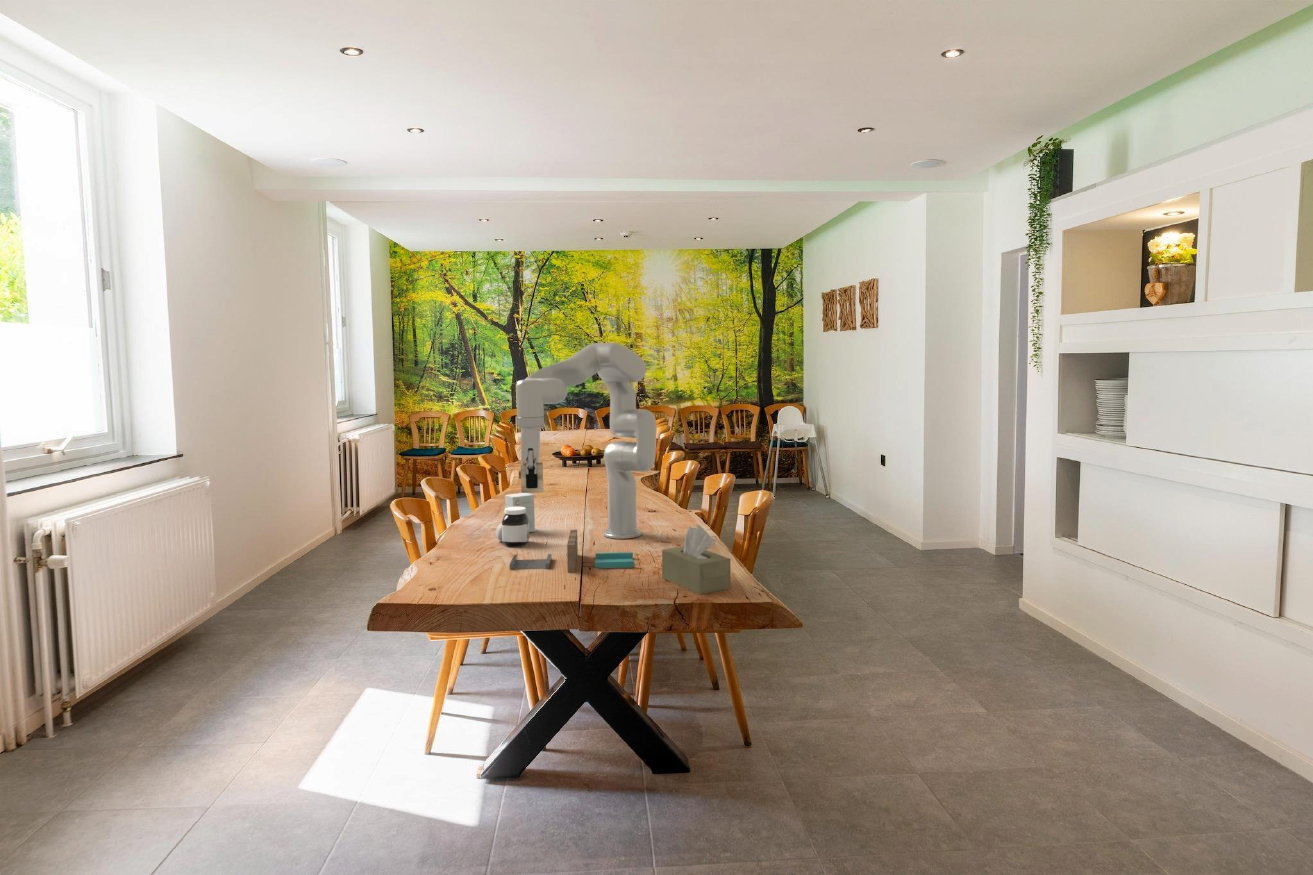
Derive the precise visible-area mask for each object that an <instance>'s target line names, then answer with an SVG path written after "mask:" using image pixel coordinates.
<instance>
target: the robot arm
mask: <svg viewBox="0 0 1313 875" xmlns="http://www.w3.org/2000/svg"><path fill="white" fill-rule="evenodd" d="M646 366H647V365H646V364H645V361H644V359H643V357H641V356H640V355H638V354H637V353H635V352H634V351H633V350H631V349H629V348H628V347H626V346H624V345H622V344H621V343H616V342H594V343H589V344H588V345H586V346H585V347H583V348H582V349H581V350H579V351H578V352H576V353H575V354H573V355H572V356H569V358H567V359H564V360H562V361H558V362H556V363H553V364H550V365H548V366H547V365H546V366H544V367H542V368H539V369H538V370H536V371H534V372H533V373H531V374H530V375H528V376H527V377H526V378H525V379H519V380H518V381H517V382H516V386H515V387H516V388H515V391H516V392H515V393H516V394H515V395H516V423H517V427H516V428H517V429H518V430H520V464H521V463H522V464H524V463H526V472H527V474H526V488H537V487H538V478H537V474H536V464H537V463H538V462H540V454H541V429H544V428H545V417H544V416H545V413H544V412H545V410H544V405H556V404H560V403H562V402H564V400H565V399H566V398H567V395H568V390H569V389H568V387H569V388H570V387H573V386H577V385H581V384H583V383H585V382H586V381H587V380H588V379H590V378H591V377H593V376H594V375H596V374H597V375H598V377H599V378H600V379H601V380H602V381H603V383H604V384H605V386H606V388H607V390H608V392H609V396H610V397H609V399H610V400H609V401H610V402H609V403H610V404H609V430H610V432H611V434H612V435H613V436H615V437H619V438H631V439H636V442H635V441H625V440H623V441H621V440H619V441H616V440H615V441H612V442H610V443H609V444H607V445H606V446H605V449H604V452H603V458H604V460H603V461H604V464H605V470H606V478H607V524H608V525H607V526H608V527H607V528H608V529H606V530H604V531H603V536H604V537H606V538H609V539H616V540H617V539H618V540H619V539H620V540H621V539H622V540H623V539H634V538H638V537H640V536H641V535H642V530H640V529H639V528H637V527H638V526H637V525H638V524H637V518H638V517H637V482H636V478H635V476H634V474H633V472H648V471H651V470H652V468H653V467H654V465H655V462H656V454H657V453H656V452H657V451H656V450H657V421H656V417H655V415H654V413H653V412H652V411H650V410H649V409H643V408H641V409H640V408H638V409H637V405H636V404H637V403H636V402H637V394H636V390H635V388H634V387H633V385H632V383H638V382H640V381H642V380H643V379H644V377H645V376H646V372H647V371H646V370H647V367H646ZM533 465H534V466H533Z"/></svg>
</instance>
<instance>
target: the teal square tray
mask: <svg viewBox="0 0 1313 875" xmlns="http://www.w3.org/2000/svg"><path fill="white" fill-rule="evenodd" d="M634 563H635V561H634V552H633V551H627V552H624V551H623V552H595V561H594V568H596V569H597V568H599V569H628V568H629V569H631V568H632V569H633V568H634V566H635V564H634Z"/></svg>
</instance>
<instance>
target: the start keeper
mask: <svg viewBox="0 0 1313 875" xmlns="http://www.w3.org/2000/svg"><path fill="white" fill-rule="evenodd" d="M551 563H552V554H551V553H548V554H547V557H546V559H545V558H542V559H541V558H540V559H539V558H536V559H535V558H534V559H533V558H532V559H519V558H518V554H514V555H513V557H512V559H511V561H510V562H509V570H510V571H512V570H513V571H514V570H517V571H518V570H519V571H520V570H549V569H550V566H551Z"/></svg>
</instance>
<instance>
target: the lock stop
mask: <svg viewBox="0 0 1313 875" xmlns="http://www.w3.org/2000/svg"><path fill="white" fill-rule="evenodd" d="M533 466H534V465H533ZM543 466H544V465H543V462H540V461H539V462H538V463H537V464H536V474H537V478H538V487H537V488H526V474H527V472H526V462H524V464H522V463H521V462H520V469H519V470H518V480H520V487H521V489H520V490H521V492H520V493H530V494H533V493H534V494H535V493H543V492H544V468H543Z"/></svg>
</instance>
